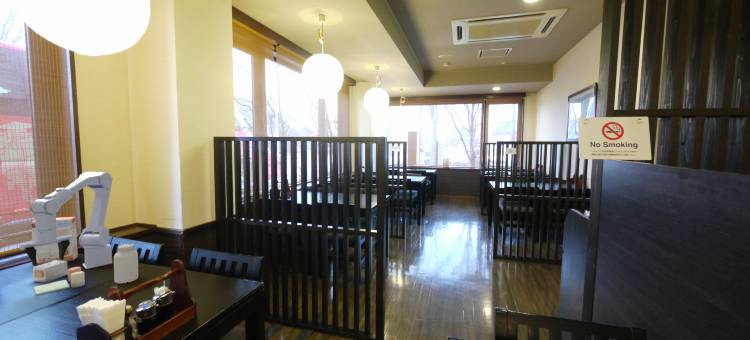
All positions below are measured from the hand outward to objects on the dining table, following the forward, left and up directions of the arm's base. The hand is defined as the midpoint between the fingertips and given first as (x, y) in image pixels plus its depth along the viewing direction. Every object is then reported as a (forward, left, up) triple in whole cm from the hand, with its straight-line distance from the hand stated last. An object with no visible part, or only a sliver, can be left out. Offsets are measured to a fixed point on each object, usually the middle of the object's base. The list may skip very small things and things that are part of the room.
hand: (48, 262), depth 123 cm
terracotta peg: (-7, +1, -10) cm, 12 cm away
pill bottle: (-21, +16, -10) cm, 28 cm away
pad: (0, +4, -10) cm, 10 cm away
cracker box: (-5, -33, -10) cm, 35 cm away
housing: (-1, -9, -10) cm, 13 cm away
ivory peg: (-7, +8, -10) cm, 15 cm away
